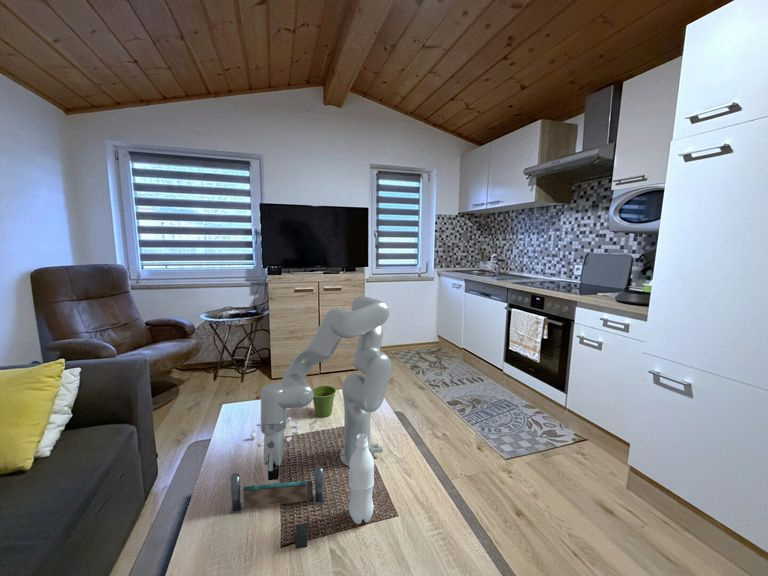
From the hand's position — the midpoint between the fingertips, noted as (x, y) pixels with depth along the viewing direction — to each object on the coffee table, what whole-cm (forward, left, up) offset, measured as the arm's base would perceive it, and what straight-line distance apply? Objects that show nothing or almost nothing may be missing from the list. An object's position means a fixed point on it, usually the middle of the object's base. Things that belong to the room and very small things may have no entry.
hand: (273, 478), depth 103 cm
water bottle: (-27, +14, -4) cm, 31 cm away
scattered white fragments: (+4, -33, -5) cm, 33 cm away
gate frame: (-2, +13, -4) cm, 14 cm away
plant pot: (-15, -46, -4) cm, 48 cm away
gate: (-3, +6, -3) cm, 8 cm away
